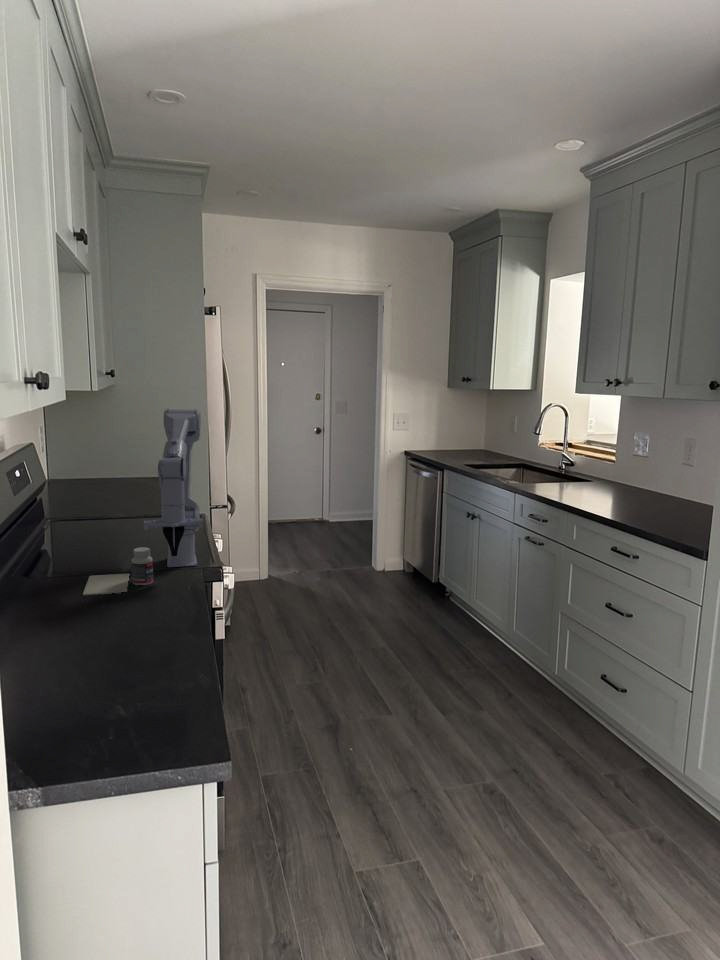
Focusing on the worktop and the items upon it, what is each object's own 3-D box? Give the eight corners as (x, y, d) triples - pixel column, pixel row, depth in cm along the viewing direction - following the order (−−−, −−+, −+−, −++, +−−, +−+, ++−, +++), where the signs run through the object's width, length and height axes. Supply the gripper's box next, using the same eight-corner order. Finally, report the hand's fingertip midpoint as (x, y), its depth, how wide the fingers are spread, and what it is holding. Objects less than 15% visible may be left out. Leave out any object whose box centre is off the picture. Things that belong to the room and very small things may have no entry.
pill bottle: (149, 586, 165) (148, 552, 163) (128, 585, 165) (127, 552, 163) (156, 579, 170) (155, 546, 168) (136, 578, 170) (135, 546, 169)
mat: (89, 577, 170) (89, 575, 170) (130, 574, 173) (129, 573, 173) (82, 595, 157) (82, 594, 157) (126, 592, 160) (126, 591, 160)
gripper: (142, 508, 160) (144, 561, 163) (202, 506, 164) (203, 557, 167) (143, 502, 167) (145, 553, 169) (201, 500, 171) (202, 550, 173)
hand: (174, 555), depth 168 cm, fingers closed
